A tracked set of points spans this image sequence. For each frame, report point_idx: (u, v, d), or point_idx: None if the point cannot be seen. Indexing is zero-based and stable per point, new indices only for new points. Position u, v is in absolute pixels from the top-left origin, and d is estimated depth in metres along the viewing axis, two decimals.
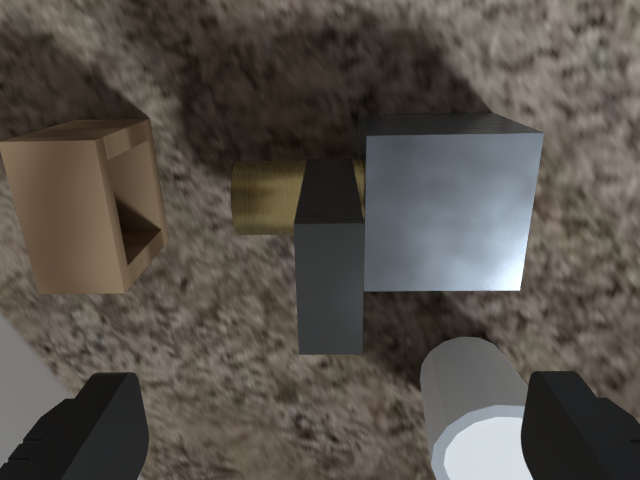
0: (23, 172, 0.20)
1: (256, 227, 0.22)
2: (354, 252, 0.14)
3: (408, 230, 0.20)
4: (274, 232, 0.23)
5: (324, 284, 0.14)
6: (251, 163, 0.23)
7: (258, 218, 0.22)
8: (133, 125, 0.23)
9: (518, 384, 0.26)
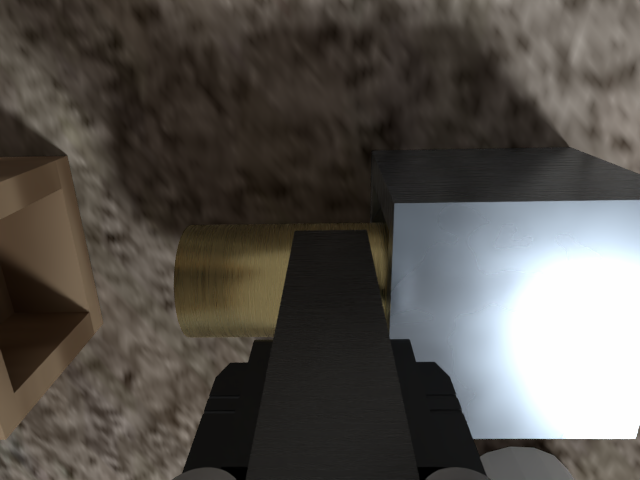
0: None
1: (217, 331, 0.14)
2: None
3: (460, 351, 0.12)
4: (245, 336, 0.15)
5: None
6: (209, 231, 0.15)
7: (219, 320, 0.14)
8: (30, 170, 0.15)
9: None
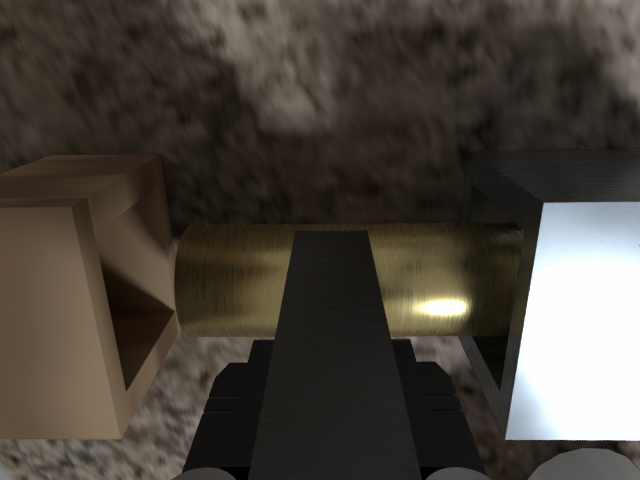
0: None
1: (216, 331, 0.14)
2: None
3: (591, 352, 0.12)
4: (245, 336, 0.15)
5: None
6: (209, 230, 0.15)
7: (219, 320, 0.14)
8: (136, 168, 0.15)
9: None
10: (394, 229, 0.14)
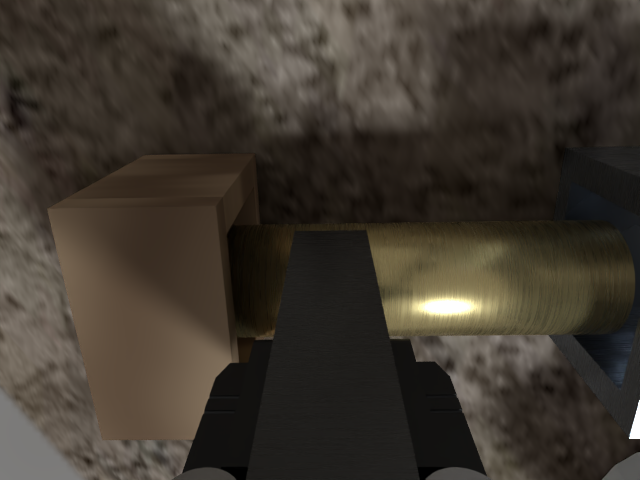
0: (88, 258, 0.12)
1: None
2: None
3: None
4: (245, 336, 0.15)
5: None
6: None
7: None
8: (244, 167, 0.15)
9: None
10: (393, 228, 0.14)
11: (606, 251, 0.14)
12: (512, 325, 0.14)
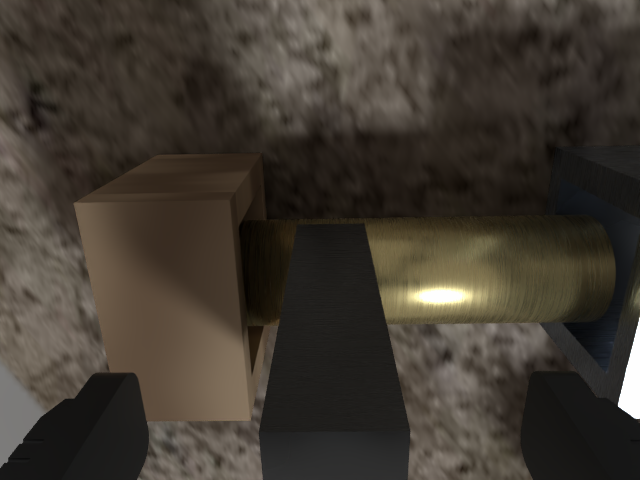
0: (111, 248, 0.13)
1: None
2: None
3: None
4: (250, 324, 0.16)
5: None
6: None
7: None
8: (252, 166, 0.16)
9: None
10: (389, 222, 0.15)
11: (589, 243, 0.14)
12: (501, 313, 0.15)
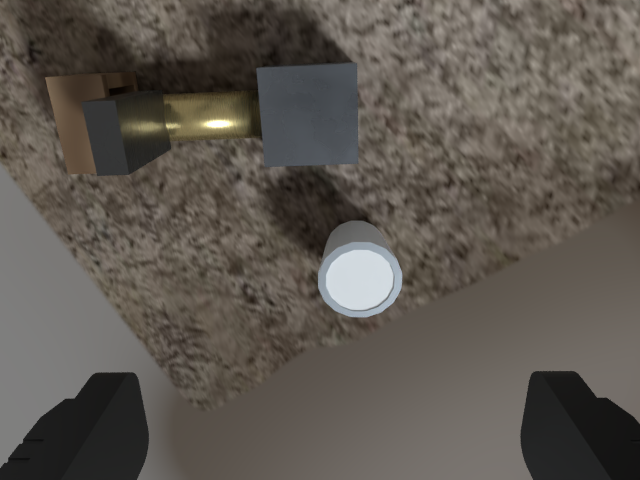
0: (59, 95, 0.34)
1: None
2: (113, 116, 0.28)
3: (287, 126, 0.35)
4: None
5: (102, 134, 0.28)
6: None
7: None
8: (124, 72, 0.37)
9: (376, 237, 0.40)
10: (179, 94, 0.37)
11: (254, 97, 0.36)
12: (223, 128, 0.36)
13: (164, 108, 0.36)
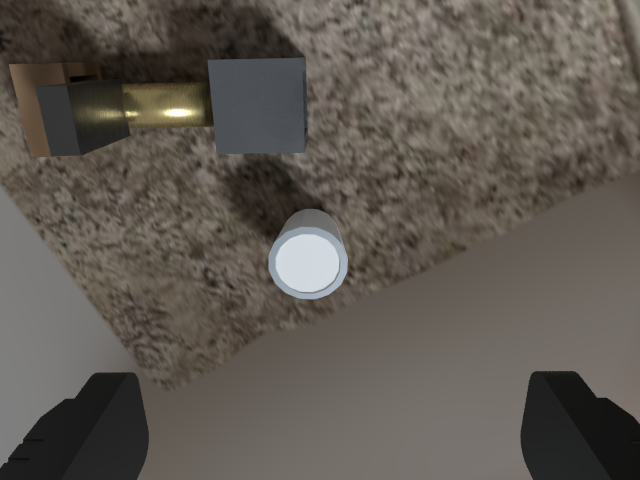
0: (22, 82, 0.36)
1: None
2: (65, 100, 0.30)
3: (237, 115, 0.37)
4: None
5: (54, 117, 0.31)
6: None
7: None
8: (87, 62, 0.39)
9: (325, 224, 0.42)
10: (138, 83, 0.39)
11: (208, 88, 0.38)
12: (179, 117, 0.38)
13: (123, 96, 0.38)
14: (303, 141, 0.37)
